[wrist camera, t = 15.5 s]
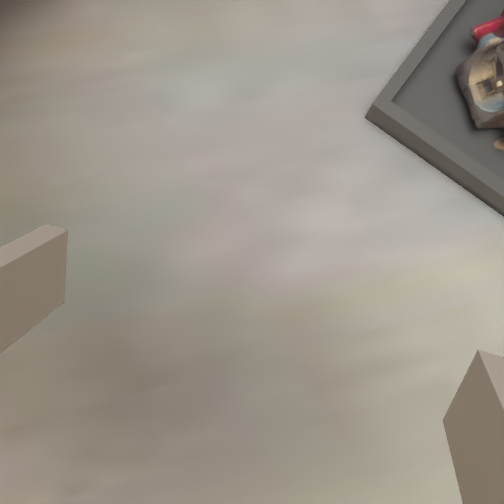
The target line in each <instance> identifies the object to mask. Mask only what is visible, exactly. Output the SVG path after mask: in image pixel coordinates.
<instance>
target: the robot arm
mask: <svg viewBox="0 0 504 504" xmlns="http://www.w3.org/2000/svg"><path fill="white" fill-rule="evenodd" d="M67 235H68V230H65V229H62V228H59V227H55V226H52V225H48V224H45V225H43V226H41V227H39V228H37V229H35V230H33V231H31V232H29V233H27V234H25V235H23V236H21V237H19V238H17V239H15V240H13V241H11V242H9V243H7V244H5V245H3V246H1V247H0V353H1V352H3V351H4V350H5V349H6V348H8V347H9V346H10V345H11V344H13V343H14V342H15V341H16V340H18V339H19V338H20V337H21V336H23V335H24V334H25V333H26V332H28V331H29V330H30V329H31V328H33V327H34V326H35V325H36V324H38V323H39V322H40V321H41V320H43V319H44V318H45V317H46V316H48V315H49V314H50V313H52V312H53V311H54V310H55V309H57V308H58V307H59V306H60V305H62V304H63V303H64V292H65V273H66V254H67ZM443 423H444V428H445V432H446V436H447V440H448V444H449V448H450V452H451V456H452V460H453V465H454V469H455V473H456V477H457V481H458V485H459V489H460V493H461V497H462V501H463V504H504V357H501V356H497V355H494V354H490V353H487V352H484V351H480V350H478V351H477V353H476V355H475V357H474V359H473V361H472V363H471V365H470V367H469V369H468V371H467V373H466V375H465V377H464V379H463V381H462V383H461V385H460V387H459V389H458V391H457V393H456V395H455V397H454V399H453V401H452V403H451V405H450V407H449V409H448V411H447V413H446V415H445V417H444V419H443Z"/></svg>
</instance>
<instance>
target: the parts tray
mask: <svg viewBox="0 0 504 504" xmlns="http://www.w3.org/2000/svg"><path fill="white" fill-rule="evenodd" d="M503 9H504V0H450V1H449V2H448V3H447V5H446V6H445V7H444V9H443V10H442V11H441V13H440V14H439V15H438V17H437V18H436V20H435V21H434V22H433V24H432V25H431V26H430V28H429V29H428V30H427V32H426V33H425V34H424V36H423V37H422V38H421V40H420V41H419V42H418V44H417V45H416V46H415V48H414V49H413V50H412V52H411V53H410V54H409V56H408V57H407V58H406V60H405V61H404V62H403V64H402V65H401V66H400V68H399V69H398V70H397V72H396V73H395V74H394V76H393V77H392V78H391V80H390V81H389V82H388V84H387V85H386V86H385V88H384V89H383V91H382V92H381V93H380V95H379V96H378V97H377V99H376V100H375V101H374V103H373V104H372V106H371V107H370V109H369V111H368V113H367V114H366V116H365V118H366V119H368V120H369V121H371V122H372V123H373V124H375V125H376V126H378V127H379V128H380V129H382V130H383V131H385V132H386V133H388V134H389V135H390V136H392V137H393V138H395V139H396V140H397V141H399V142H400V143H402V144H403V145H404V146H406V147H407V148H409V149H410V150H411V151H413V152H414V153H416V154H417V155H418V156H420V157H421V158H423V159H424V160H425V161H427V162H428V163H430V164H431V165H432V166H434V167H435V168H437V169H438V170H439V171H441V172H442V173H444V174H445V175H447V176H448V177H449V178H451V179H452V180H454V181H455V182H456V183H458V184H459V185H461V186H462V187H463V188H465V189H466V190H468V191H469V192H470V193H472V194H473V195H475V196H476V197H477V198H479V199H480V200H482V201H483V202H484V203H486V204H487V205H489V206H490V207H491V208H493V209H494V210H496V211H497V212H499V213H500V214H501V215H503V216H504V151H501V150H499V149H496V148H495V147H494V145H493V144H492V142H493V141H494V140H496V139H498V138H500V137H502V136H504V128H480V129H479V128H477V127H476V126H475V124H474V122H473V120H472V117H471V113H470V109H469V105H468V103H467V101H466V99H465V97H464V95H463V93H462V91H461V89H460V86H459V84H458V81H457V78H456V73H455V72H456V68H457V66H459V65H460V64H461V63H463V61H465V60H466V59H467V58H468V57H469V56H470V55H472V54H473V53H474V52H475V51H476V50H477V43H476V42H475V40H474V39H473V38H472V37H471V35H470V29H471V28H472V27H473V26H475V25H478V24H480V23H482V22H485V21H489V20H492V19H494V18H496V17H498V16H500V14H501V13H502V12H503Z"/></svg>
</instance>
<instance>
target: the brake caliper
mask: <svg viewBox="0 0 504 504" xmlns="http://www.w3.org/2000/svg"><path fill="white" fill-rule="evenodd" d="M470 35H471V37H472V38H473V39H474V40H475V42H476V43H477V50H476V51H475V52H474V53H473V54H472V55H470V56H469V57H468V58H467V59H466V60H465V61H463V63H461V64H460V65H459V66H457V68H456V72H455V73H456V78H457V81H458V84H459V86H460V89H461V91H462V93H463V95H464V97H465V99H466V101H467V103H468V105H469V109H470V113H471V117H472V120H473V122H474V124H475V126H476V127H477V128H479V129H480V128H504V9H503V12H502V13H501V14H500V16H498V17H496V18H494V19H492V20H489V21H485V22H482V23H480V24H478V25H475V26H473V27H472V28H471V29H470ZM492 144H493V145H494V147H495V148H496V149H499V150H501V151H504V136H502V137H500V138H498V139H496V140H494V141H493V142H492Z"/></svg>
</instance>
